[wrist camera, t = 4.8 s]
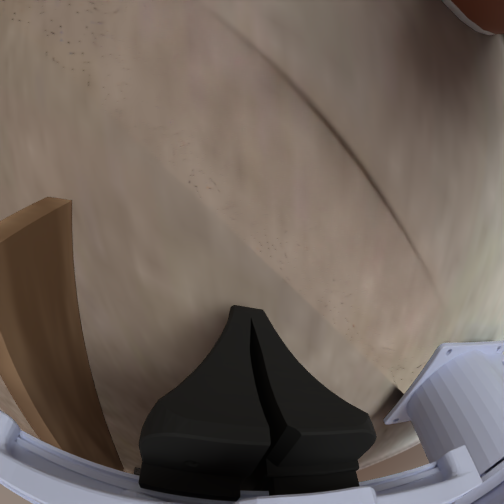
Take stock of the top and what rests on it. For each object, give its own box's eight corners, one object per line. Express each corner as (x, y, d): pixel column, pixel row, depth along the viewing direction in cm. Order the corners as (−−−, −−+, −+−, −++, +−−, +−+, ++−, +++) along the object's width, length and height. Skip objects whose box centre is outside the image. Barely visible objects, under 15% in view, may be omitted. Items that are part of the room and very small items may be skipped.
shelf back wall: (71, 200, 11) (-20, 256, 5) (123, 468, 22) (114, 511, 16) (47, 196, 10) (-44, 247, 5) (111, 464, 22) (101, 506, 16)
